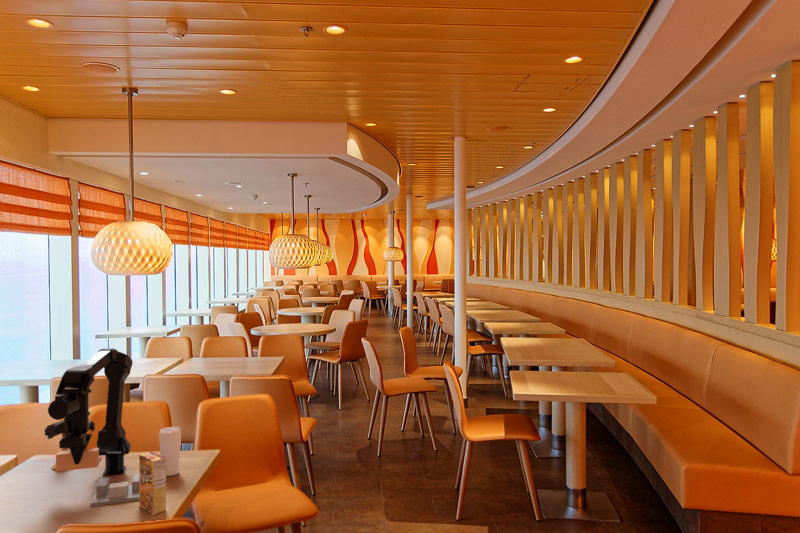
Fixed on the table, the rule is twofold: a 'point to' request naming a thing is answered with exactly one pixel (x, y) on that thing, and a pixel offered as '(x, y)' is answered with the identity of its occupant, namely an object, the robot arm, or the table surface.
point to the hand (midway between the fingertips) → (78, 462)
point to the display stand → (115, 492)
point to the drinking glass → (170, 448)
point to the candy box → (152, 482)
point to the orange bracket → (87, 461)
